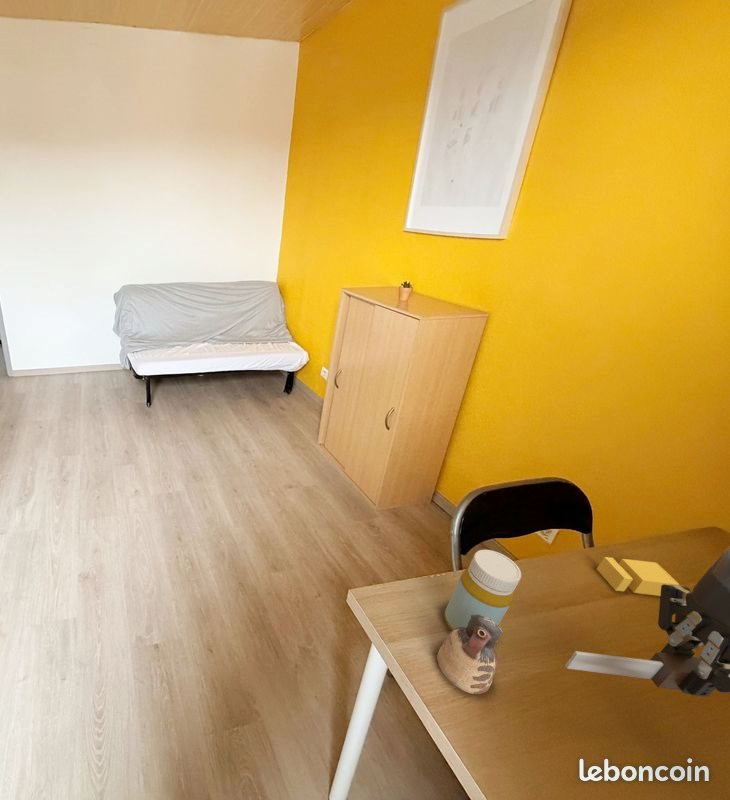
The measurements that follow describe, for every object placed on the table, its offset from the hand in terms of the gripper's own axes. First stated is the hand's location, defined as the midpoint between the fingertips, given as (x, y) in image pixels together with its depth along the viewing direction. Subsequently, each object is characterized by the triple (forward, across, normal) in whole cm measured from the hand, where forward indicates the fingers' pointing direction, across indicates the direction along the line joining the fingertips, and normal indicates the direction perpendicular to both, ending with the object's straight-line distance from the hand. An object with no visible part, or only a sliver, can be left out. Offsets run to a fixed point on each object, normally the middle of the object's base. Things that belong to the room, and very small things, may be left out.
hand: (677, 678), depth 53 cm
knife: (+1, 0, +5) cm, 5 cm away
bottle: (+11, +12, +18) cm, 24 cm away
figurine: (+11, +4, +22) cm, 24 cm away
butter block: (+11, +26, -20) cm, 34 cm away
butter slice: (+11, +26, -14) cm, 32 cm away
